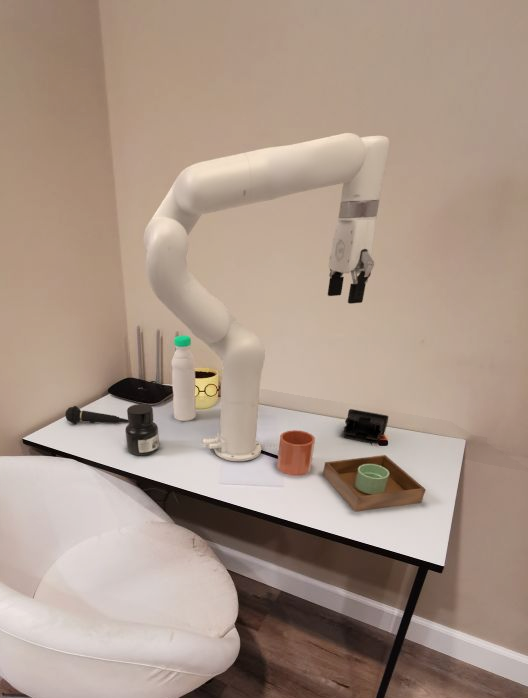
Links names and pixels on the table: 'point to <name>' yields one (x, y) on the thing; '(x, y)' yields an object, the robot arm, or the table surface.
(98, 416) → the microphone
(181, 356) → the water bottle
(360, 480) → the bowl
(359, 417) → the black angular box
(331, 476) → the tray
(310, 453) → the cup
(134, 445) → the ink bottle
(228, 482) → the table surface
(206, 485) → the table surface
